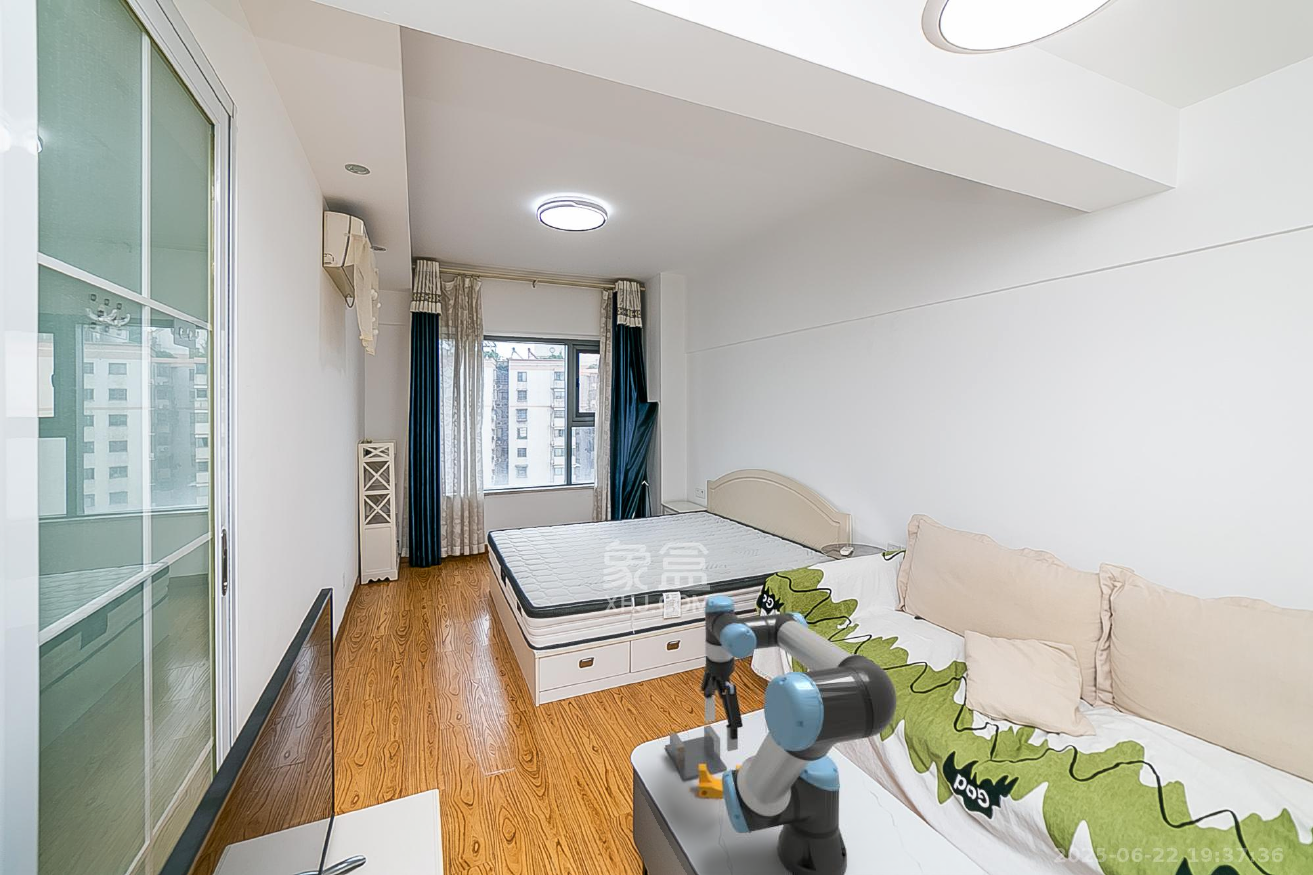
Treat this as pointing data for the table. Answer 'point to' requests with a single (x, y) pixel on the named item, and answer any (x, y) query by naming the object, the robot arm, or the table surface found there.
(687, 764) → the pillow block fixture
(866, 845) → the table surface
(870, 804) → the table surface
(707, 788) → the orange angled block
